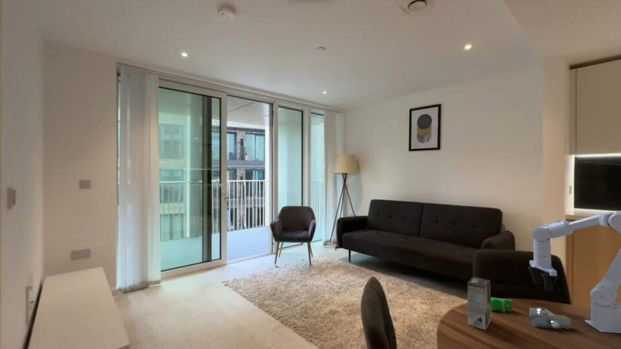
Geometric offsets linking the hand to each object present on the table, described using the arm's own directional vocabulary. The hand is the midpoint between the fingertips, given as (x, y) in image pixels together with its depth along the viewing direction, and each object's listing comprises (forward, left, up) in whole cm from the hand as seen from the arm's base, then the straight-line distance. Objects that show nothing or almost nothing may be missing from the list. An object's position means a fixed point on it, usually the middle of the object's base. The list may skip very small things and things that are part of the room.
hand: (542, 287), depth 123 cm
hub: (+6, +10, -10) cm, 15 cm away
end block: (+6, +14, -9) cm, 18 cm away
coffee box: (+31, +15, -10) cm, 36 cm away
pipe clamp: (+19, +3, -10) cm, 22 cm away
